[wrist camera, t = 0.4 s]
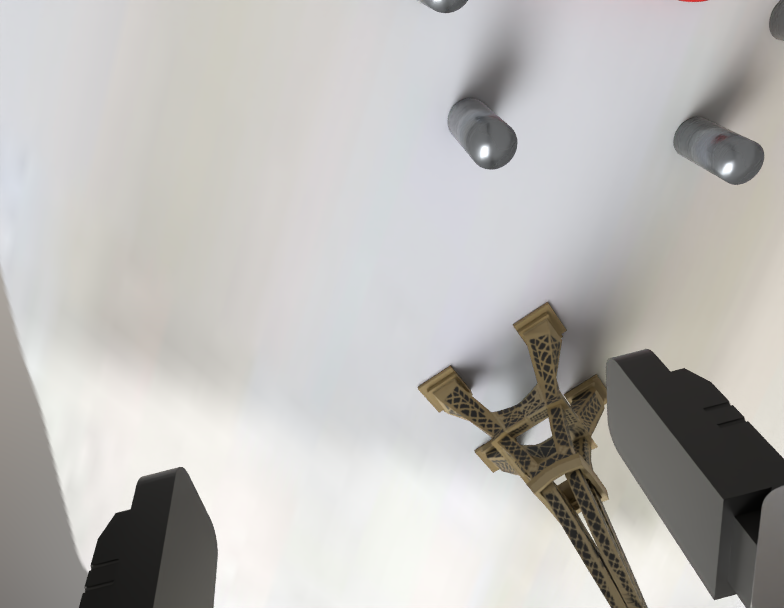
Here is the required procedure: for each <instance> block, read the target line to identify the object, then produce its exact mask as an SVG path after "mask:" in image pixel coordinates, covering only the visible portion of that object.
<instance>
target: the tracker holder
mask: <svg viewBox="0 0 784 608" xmlns="http://www.w3.org/2000/svg"><path fill="white" fill-rule="evenodd" d="M680 1H686V2H701V1H708V0H680Z"/></svg>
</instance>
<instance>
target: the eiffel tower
mask: <svg viewBox="0 0 784 608" xmlns="http://www.w3.org/2000/svg"><path fill="white" fill-rule="evenodd" d="M513 326H514V328H515V329H516V330H517V332H518V334H519V335H520V336H521V338H522V339H523V340H524V342H525V343H526V345H527V346H528V350H529V353H530V357H531V361H532V364H533V368H534V372H535V375H536V379H537V383H538V384H537V385H536V386H535V387H534V389H533V390H532V391H531V392H530V393H529V394H528V395H527V396H526V397H525V398H524V399H523V400H522V401H521V402H520V403H519V404H517V405H515V406H513V407H511V408H507V409H504V410H501V411H497V412H490V411H489V410H488V409H487V408H485V407H484V406H483V405H482V404H481V403H480V402H478V401H477V400H476V399H475V398H474V397H472V395H473V394H472V392H471V390H470V389H469V387H468V386H467V385H466V384H465V383H464V381H463V380H462V379H461V378H460V377H459V375H458V374H457V373H456V372H455V371H454V370H453V368H452V367H451V366H449V367H447V368H446V369H444V370H443V371H441V372H440V373H438V374H437V375H435V376H434V377H432V378H431V379H429V380H428V381H426V382H425V383H423V384H422V385H420V386H419V387H418V390H419V391H420V392H421V393H422V394H423V395H424V396H425V397H426V398H427V400H428V401H429V402H430V403H431V404H432V405H433V406H434V407H435V408H436V410H437V411H438V412H441V411H443V410H444V411H445V412H447V413H448V414H451V415H453V416H456V417H459V418H462V419H465V420H468V421H470V422H472V423H473V424H474V425H476V426H477V427H478V428H480V429H481V430H482V431H484V432H485V433H486V434H488V435H489V436H490V437H492V440H490V441H489V442H487V443H486V444H484V445H482V446H481V447H479V448H478V449H476V450H474V451H475V453H476V454H477V455H478V456H479V457H480V458H481V460H482V461H483V462H484V463H485V464H486V465H487V466H488V467H489V468H490V470H491V471H492V472H493V473H494V472H495V471H497V470H499V469H500V470H501V471H503V472H507V473H511V474H515V475H519V476H520V477H521V478H522V479H523V480H524V482H525V483H526V485H527V486H528V487H529V488H530V489H531V491H532V492H533V493H534V494H535V495H536V496H537V497H538V498H539V499H540V500H541V501H542V503H543V504H544V505H545V506H546V507H547V508H548V510H549V511H550V512H551V513H552V514H553V515H554V517H555V518H556V519H557V520H558V522H559V523H560V524H561V525H562V527H563V529H564V530H565V532H566V534H567V535H568V537H569V539H570V540H571V542H572V544H573V545H574V547H575V549H576V550H577V552H578V554H579V555H580V557H581V559H582V560H583V562H584V564H585V565H586V567H587V569H588V570H589V572H590V574H591V575H592V577H593V578H594V580H595V582H596V583H597V585H598V587H599V588H600V590H601V592H602V593H603V595H604V597H605V598H606V600H607V601H608V603H609V605H610V606H611V608H648V607H647V605H646V603H645V600H644V598H643V596H642V593H641V591H640V589H639V586H638V584H637V582H636V579H635V577H634V575H633V572H632V570H631V568H630V565H629V563H628V561H627V558H626V556H625V554H624V552H623V549H622V547H621V545H620V542H619V540H618V538H617V536H616V533H615V531H614V529H613V526H612V524H611V522H610V519H609V517H608V515H607V513H606V510H605V508H604V506H603V503H602V502H603V501H606V500H609V498H608V493H607V490H606V488H605V487H604V485H603V484H602V482H601V481H600V479H599V478H598V477H597V475H596V474H595V472H594V471H593V467H592V463H591V450H592V449H594V448H597V447H598V446H597V445H596V444H595V442H594V441H593V439H592V438H591V435H592V433H593V432H594V430H595V428H596V426H597V424H598V421H599V419H600V417H601V415H602V413H603V411H604V405H605V404H606V403H607V389H606V388H605V386H604V385H603V383H602V382H601V380H600V379H599V377H598V376H597V375H595V376H593V377H591V378H590V379H588V380H587V381H585V382H583V383H582V384H580V385H579V386H577V387H575V388H574V389H572V390H571V391H569V392H567V393H566V394H564V396H565V397H566V399H567V401H568V402H569V403H570V405H569V404H568V402H567V401H566V399H565V398H564V397H563V395H562V394H561V392H560V391H559V387H558V383H557V379H556V375H557V368H558V362H559V356H560V350H561V343H562V339H561V338H562V337H563V336H562V333H564V332H565V331H567V330H566V329H565V327H564V326H563V324H562V323H561V321H560V320H559V318H558V317H557V315H556V314H555V312H554V311H553V309H552V308H551V306H550V305H549V303H548V302H547V303H545V304H544V305H542V306H540V307H539V308H537V309H536V310H534V311H533V312H531V313H530V314H528V315H527V316H525V317H524V318H522V319H521V320H519V321H518V322H516V323H515V324H513ZM548 417H549V422H550V428H551V432H552V437H550V438H548V439H547V440H545V441H544V442H542V443H540V444H537V445H520V444H519V443H517V441H516V437H517V436H519V435H520V434H522V433H524V432H525V431H527V430H529V429H530V428H532V427H533V426H535V425H537V424H538V423H540V422H541V421H543V420H545V419H546V418H548ZM564 474H565V476H566V478H567V480H566V481H564V482H563V483H561V484H559V485H558V486H557V485H556V484H555V483H554V480H555V479H557V478H559V477H560V476H562V475H564ZM580 512H582V514H583V516H584V518H585V520H586V523H587V525H588V527H589V529H590V531H591V534H592V536H593V538H594V540H595V542H594V541H593V539H592V537H591V536H590V534H589V532H588V531H587V529H586V527H585V526H584V524H583V522H582V521H581V519H580V517H579V516H578V513H580ZM595 543H596V544H595ZM596 545H597V546H596Z"/></svg>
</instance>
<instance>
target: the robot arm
mask: <svg viewBox="0 0 784 608" xmlns="http://www.w3.org/2000/svg"><path fill="white" fill-rule="evenodd" d="M606 385H607V415H608V426H609V430H610V434H611V437H612V440H613V443H614V445H615V447H616V449H617V451H618V453H619V455H620V456H621V458H622V459H623V461H624V462H625V464H626V465H627V467H628V468H629V470H630V471H631V473H632V475H633V476H634V478H635V479H636V481H637V482H638V484H639V485H640V487H641V488H642V490H643V491H644V493H645V495H646V496H647V498H648V499H649V501H650V502H651V504H652V505H653V507H654V508H655V510H656V511H657V513H658V515H659V516H660V518H661V519H662V521H663V522H664V524H665V525H666V527H667V528H668V530H669V531H670V533H671V535H672V536H673V538H674V539H675V541H676V542H677V544H678V545H679V547H680V548H681V550H682V551H683V553H684V555H685V556H686V558H687V559H688V561H689V562H690V564H691V565H692V567H693V568H694V570H695V571H696V573H697V575H698V576H699V578H700V579H701V581H702V582H703V584H704V585H705V587H706V588H707V590H708V591H709V593H710V595H711V596H712V598H713V599H714V600H717V599H721V598H724V597H728V596H732V595H735V594H737V595H738V597H739V598H740V600H741V601H742V602H743V604H744V605H745V607H746V608H784V459H783V458H782V456H781V455H780V454H779V453H778V452H777V451H776V450H775V449H774V448H773V447H772V446H771V445H770V444H769V443H768V442H767V441H766V440H765V439H764V437H763V436H762V435H761V434H760V433H759V432H758V431H757V430H756V429H755V428H754V427H753V426H752V425H751V424H750V423H749V422H748V421H747V422H746V421H745V419H744V416H743V415H742V414H741V413H740V412H739V411H738V410H737V409H736V408H735V407H734V406H733V405H732V406H731V405H730V403H729V401H728V400H727V398H726V397H725V396H724V395H723V394H722V393H721V392H720V391H719V390H718V389H717V388H716V387H715V386H714V385H713V384H712V383H711V382H710V381H708V380H706V379H704V378H702V377H700V376H698V375H696V374H694V373H693V372H691V371H689V370H687V369H685V368H683V369H679V370H675V371H672V372H670V371H669V369H668V368H667V367H666V366H665V365H664V364H663V363H662V362H661V360H660V359H659V358H658V357H657V356H656V355H655V354H654V353H653V352H652V351H651V350H649V349H645V350H641V351H637V352H633V353H629V354H625V355H621V356H617V357H613V358H610V359H608V360H607V363H606ZM217 557H218V549H217V540H216V535H215V530H214V527H213V524H212V522H211V519H210V517H209V515H208V513H207V511H206V509H205V507H204V505H203V503H202V501H201V499H200V497H199V495H198V493H197V491H196V489H195V487H194V485H193V483H192V481H191V478H190V476H189V474H188V473H187V471H186V470H185V469H184V468H183V467H178V468H174V469H170V470H166V471H163V472H159V473H155V474H151V475H147V476H143V477H141V478H140V479H139V480H138V482H137V485H136V489H135V494H134V498H133V502H132V506H131V509H130V510H126V511H122V512H118V513H116V514H115V515H114V516H113V518H112V519H111V521H110V522H109V524H108V525H107V527H106V528H105V530H104V531H103V533H102V534H101V535H100V537H99V538H98V541H97V544H96V548H95V551H94V555H93V559H92V562H91V571H89V573H88V577H87V580H86V584H85V593H83V595H82V598H81V602H80V606H79V608H213V606H214V593H215V581H216V569H217Z"/></svg>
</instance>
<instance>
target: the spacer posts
mask: <svg viewBox="0 0 784 608" xmlns="http://www.w3.org/2000/svg"><path fill="white" fill-rule="evenodd" d="M418 1H419V2H421V3H423V4H424V5H426V6H428V7H430V8H431V9H433V10H435V11H437V12H441V13H450V12H454V11H456V10H458V9H460V8H461V7H463V6H464V5H465V4H466V2H467V1H468V0H418ZM769 28H770V32H771V34H772V35H773V36H774V37H775V38H776V39H778V40H782V41H784V0H781V1H780V2H779V3H778V4H777V5H776V7H775V8H774V10H773V12H772V14H771V17H770V21H769ZM448 128H449V130H450V132H451V134H452V135H453V136H454V137H455V139H456V140H457V141H458V142H459V143H460V145H461V146H462V147H463V148H464V149H465V151H466V152H467V153H468V154H469V155H470V157H471V158H472V159H473V160H474V162H475V163H476V164H477V165H479V166H480V167H482V168H485V169H498V168H500V167H503V166H504V165H506V164H507V163H508V162H509V161H510V160H511V159H512V158H513V156H514V154H515V152H516V149H517V137H516V134H515V132H514V130H513V129H512V128H511V127H510V126H509V125H508V124H507V123H505V122H504V121H503V120H502V119H501V118H500V117H499V116H497V115H496V114H495V113H494V112H493V111H492V110H491V109H489V108H488V107H487V106H486V105H485V104H484V103H483V102H481V101H480V100H478V99H474V98H467V99H463V100H461V101H459V102H458V103H456V104H455V105H454V106H453V107H452V109H451V111H450V113H449V115H448ZM674 148H675V150H676V151H677V153H678V154H680V155H682V156H683V157H685V158H687V159H688V160H690V161H692V162H694V163H695V164H697V165H699V166H700V167H702V168H704V169H706V170H707V171H709V172H711V173H712V174H714V175H716V176H718V177H719V178H721V179H723V180H724V181H726V182H728V183H730V184H734V185H738V184H743V183H745V182H747V181H749V180H751V179H752V178H753V177H754V176H755V175H756V174H757V173H758V172H759V170H760V169H761V167H762V165H763V161H764V151H763V148H762V147H761V146H760V145H759V144H758V143H756V142H754V141H752V140H750V139H748V138H746V137H743V136H741V135H739V134H737V133H735V132H733V131H731V130H728V129H726V128H724V127H722V126H720V125H718V124H716V123H713V122H711V121H709V120H707V119H705V118H702V117H693V118H690V119H688V120H686V121H685V122H684V123H683V124H682V125H681V126H680V127H679V128H678V130H677V131H676V133H675V136H674Z"/></svg>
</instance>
